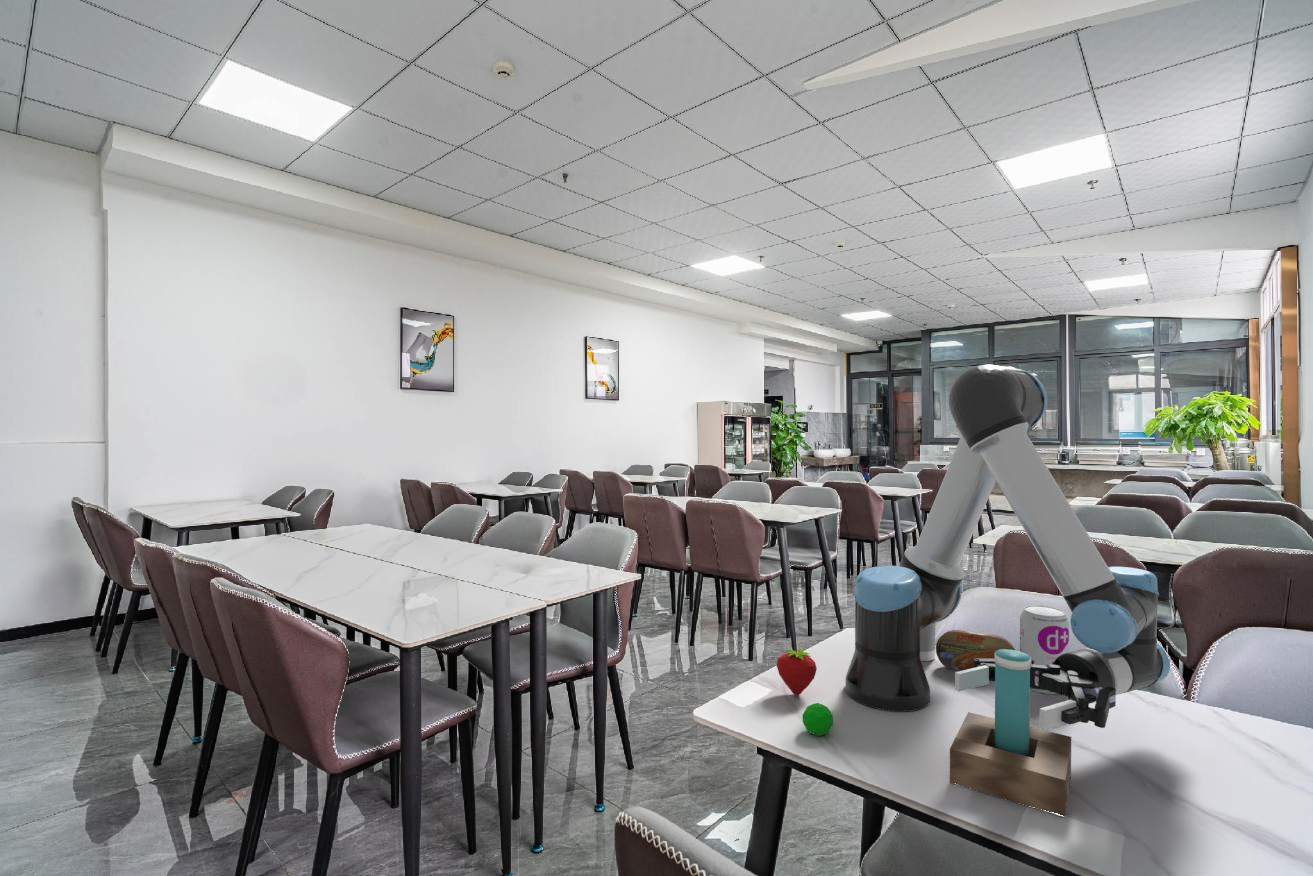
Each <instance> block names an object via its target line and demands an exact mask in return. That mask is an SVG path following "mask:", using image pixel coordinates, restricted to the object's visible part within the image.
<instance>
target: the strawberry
mask: <svg viewBox="0 0 1313 876" xmlns="http://www.w3.org/2000/svg"><path fill="white" fill-rule="evenodd" d="M782 653H784V654H782V655H780V656H779V657H778V658H777V661H776V669H777V671H778V675H779V676H780V678H781V680H782V681H783V682H784V684H785V685H786V687H787V688H788V689H789V690H790V691H791V693H792V694H793V695H795V694H797V695H796V696H799V694H800V695H801V694H802V693H803V692H804V691H805V689H807V688H808V687H809V686H810V684H811V683H812V681H814V679H815V676H816V673H817V671H818V669H817V664H816V662H815V660H814V659H813V658H812V656H811V655H810V653H809V652H806V651H804V648H800V641H798V649H797V651H796V650H791V649H786V651H782Z"/></svg>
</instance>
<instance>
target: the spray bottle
mask: <svg viewBox="0 0 1313 876" xmlns="http://www.w3.org/2000/svg"><path fill="white" fill-rule="evenodd" d="M935 658H936V623H934V624H931V625H929V626H927V627H925V628H923V629H921V630H920V659H921V662H929V661H930V662H931V661H933V660H934V659H935Z"/></svg>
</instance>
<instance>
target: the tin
mask: <svg viewBox="0 0 1313 876" xmlns="http://www.w3.org/2000/svg"><path fill="white" fill-rule="evenodd" d="M1000 649H1009V650H1016V648H1015V647H1014V645H1013V644H1012V642H1010V641H1009V640H1008V639H1006V638H1004V637H1003V636H999V635H995V634H988V633H981V632H973V631H968V630H967V631H966V630H960V629H952V630H948V631H946V632H944V633H943V634H941V636H940V637H938V639H937V641H936V642H935V655H936V657H937V658H938V661H939V662H940V663H941V664H942V665H943V666H944V667H945V668H946V669H948V670H950V671H951V670H952V671H951V672H954V671H955V672H958V671H963V670H967V669H971V668H973V667H974V659H975V658H981V659H995V652H996V651H997V650H1000ZM955 672H954V673H955Z"/></svg>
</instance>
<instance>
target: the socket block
mask: <svg viewBox="0 0 1313 876" xmlns="http://www.w3.org/2000/svg"><path fill="white" fill-rule="evenodd" d="M1071 773H1072V736H1070V735H1069V736H1068V735H1065V734H1062V733H1057V732H1052V731H1049V730H1046V731H1044V730H1042V729H1040V728H1036V727H1031V726H1029V757H1027V756H1024V755H1020V754H1016V753H1012V752H1009V751H1005V750H1001V749H997V748H995V717H990V716H986V715H982V714H977V713H974V712H970V711H968V712H967V714H966V716H965V718H964V719H963V722H962V723H961V725H960V727H959V730H958V731H957V733H956V736H955V737H954V739H953V742H952V743H951V745H950V747H949V783H950V782H951V783H950V784H952V783H956V784H958V785H957V786H959V785H960V786H959V787H962V786H963V788H967V789H969V788H971V789H970V790H973V791H975V790H977V791H976V792H979V793H982V792H983V793H982V794H987V795H989V796H992V797H996V798H998V797H999V798H998V799H1003V800H1005V799H1006V800H1005V801H1009V802H1011V803H1014V804H1015V803H1016V804H1018V803H1020V804H1019V805H1021V804H1024V805H1023V806H1025V805H1027V806H1026V807H1028V806H1031V807H1035V808H1038V809H1042V810H1046V811H1049V812H1054V813H1058V814H1060V815H1063V816H1065V817H1066V813H1067V812H1066V810H1067V805H1066V804H1067V803H1068V795H1069V789H1070V782H1071V781H1070V780H1071ZM956 784H955V785H956ZM1031 807H1030V808H1031ZM1035 808H1034V809H1035ZM1038 809H1037V810H1038ZM1065 812H1066V813H1065Z"/></svg>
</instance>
